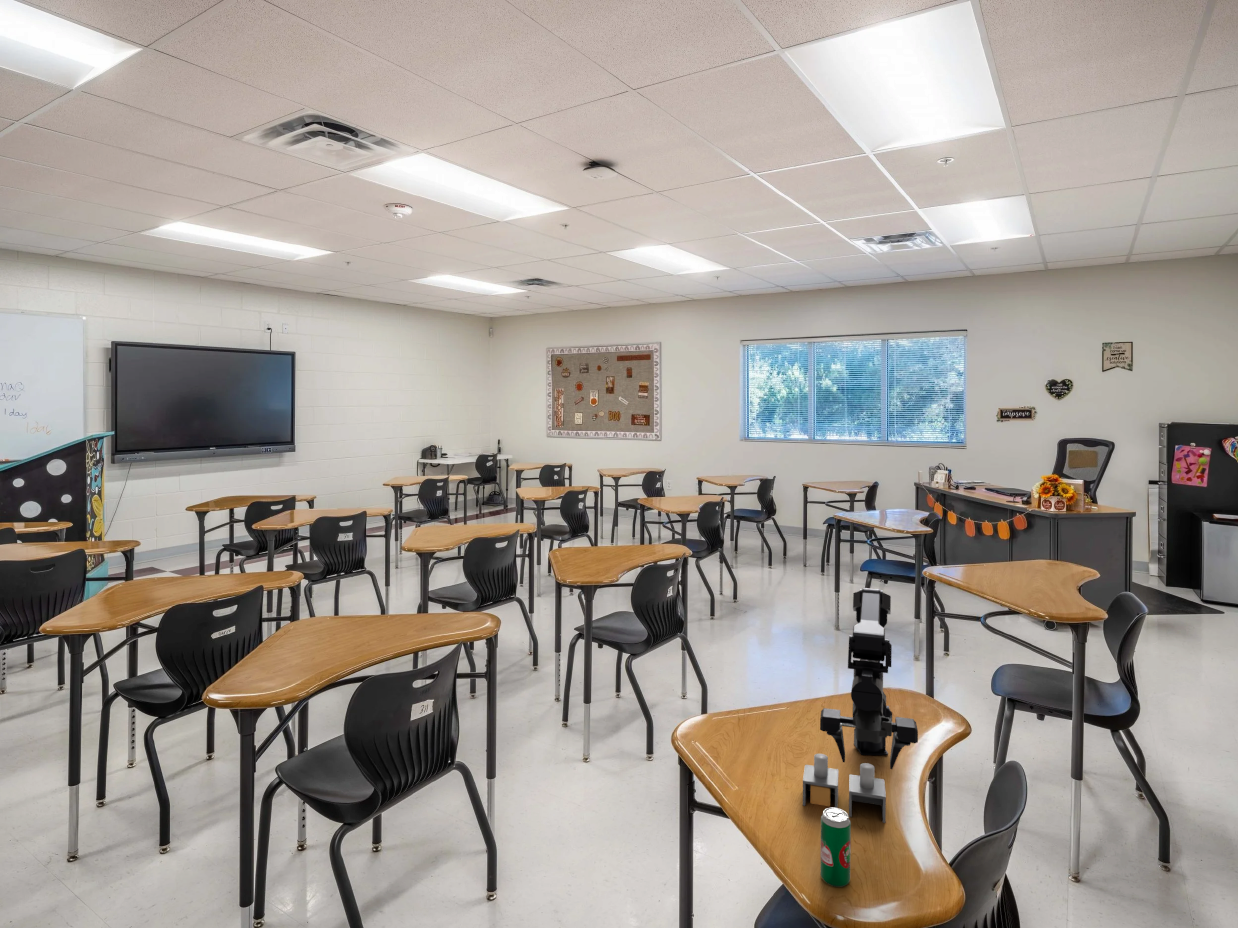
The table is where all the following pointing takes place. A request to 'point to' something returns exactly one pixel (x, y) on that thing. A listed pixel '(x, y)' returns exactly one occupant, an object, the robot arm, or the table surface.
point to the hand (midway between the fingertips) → (867, 764)
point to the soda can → (835, 847)
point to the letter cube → (820, 795)
